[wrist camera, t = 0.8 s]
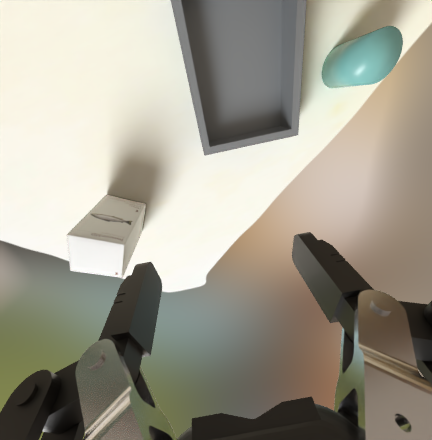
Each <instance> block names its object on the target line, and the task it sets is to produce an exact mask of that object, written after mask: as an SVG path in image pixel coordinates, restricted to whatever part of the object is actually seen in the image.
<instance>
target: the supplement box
mask: <svg viewBox="0 0 432 440" xmlns="http://www.w3.org/2000/svg"><path fill="white" fill-rule="evenodd" d="M145 209H146V204H145V203H140V202H135V201H131V200H126V199H122V198H118V197H114V196H111V195H106V196H105V197H104V198H103V199H102V200H101V201H100V202H99V203H98V204H97V205H96V206H95V207H94V208H93V209H92V210H91V211H90V212H89V213H88V214H87V215H86V216H85V217H84V218H83V219H82V220H81V221H80V222H79V223H78V224H77V225H76V226H75V227H74V228H73V229H72V230H71V231H70V232H69V233H68V234H67V243H68V251H69V262H70V270H71V271H75V272H84V273H91V274H97V275H98V274H99V275H106V276H113V277H120V278H122V277H123V275H124V273H125V271H126V268H127V266H128V264H129V261H130V259H131V256H132V254H133V252H134V249H135V247H136V245H137V242H138V240H139V238H140V235H141V233H142V228H143V222H144V215H145Z"/></svg>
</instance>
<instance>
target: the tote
mask: <svg viewBox="0 0 432 440" xmlns="http://www.w3.org/2000/svg"><path fill="white" fill-rule="evenodd" d="M306 1H307V0H171V3H172V8H173V12H174V17H175V22H176V26H177V31H178V36H179V40H180V45H181V49H182V54H183V59H184V63H185V68H186V73H187V77H188V82H189V86H190V91H191V96H192V100H193V105H194V110H195V114H196V119H197V123H198V128H199V133H200V137H201V142H202V147H203V151H204V155H209V154H214V153H218V152H223V151H227V150H232V149H237V148H241V147H246V146H250V145H255V144H259V143H264V142H269V141H273V140H278V139H282V138H287V137H292V136H296V135H298V128H299V112H300V97H301V81H302V65H303V49H304V33H305V17H306Z"/></svg>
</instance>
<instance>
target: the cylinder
mask: <svg viewBox="0 0 432 440" xmlns="http://www.w3.org/2000/svg"><path fill="white" fill-rule="evenodd" d="M402 45H403V40H402V35H401V32H400V31H399V29H397V28H396V27H393V26H387V27H383V28H381V29H378V30H376V31H373V32H371V33H368V34H366V35H363V36H361V37H358V38H356V39H353V40H351V41H348V42H346V43H343V44H341V45H338V46H337V47H335V48H334V49H333V50H332V51H331V52H330V53H329V54H328V56H327V57H326V59H325V61H324V64H323V68H322V79H323V82H324V84H325V85H326V86H327V87H329V88H339V87H349V86H359V85H368V84H374V83H377V82H379V81H381V80H382V79H384V78H385V77H386V76H387V75H388V74H389V73H390V72H391V70H392V69H393V68H394V66H395V65H396V63H397V61H398V59H399V57H400V54H401V50H402Z"/></svg>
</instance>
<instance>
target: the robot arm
mask: <svg viewBox="0 0 432 440" xmlns="http://www.w3.org/2000/svg"><path fill="white" fill-rule="evenodd" d="M292 258H293V262H294V264H295V265H296V267H297V269H298V271H299V273H300V274H301V276H302V277H303V279H304V281H305V282H306V284H307V286H308V287H309V289H310V291H311V292H312V294H313V296H314V297H315V299H316V301H317V302H318V304H319V305H320V307H321V309H322V310H323V312H324V314H325V315H326V317H327V319H328V320H329V322H330V323H333V322H338V321H339V322H340V324H341V325H342V327H343V328H342V338H341V353H340V370H339V378H338V382H337V386H336V392H335V403H334V411H333V410H331V409H329V408H327V407H324V406H321V405H318V404H314V401H313V398H312V397H308V398H301V399H296V400H291V401H286V402H281V403H280V404H279V405H277V406H275V407H274V408H272V409H270V410H269V411H267V412H266V413H264V414H262V415H261V416H259V417H258V418H256V419H247V418H242V417H238V416H233V415H228V414H223V413H220V414H214V415H209V416H203V417H198V418H192V427H190V428H189V429H187V430H186V431H185V432H184V433H183V434H181V435H180V437H179V438H178V439H177V438H176V435H175V433H174V431H173V429H172V427H171V425H170V423H169V421H168V419H167V418H166V416H165V415H164V414H163V412H162V411H161V409H160V407H159V405H158V403H157V401H156V399H155V397H154V395H153V392H152V390H151V388H150V386H149V384H148V382H147V379H146V377H145V375H144V373H143V371H142V369H141V367H140V365H141V360H142V357H145V356H150V355H151V350H152V344H153V338H154V332H155V326H156V320H157V315H158V308H159V303H160V297H161V291H162V283H161V279H160V277H159V275H158V273H157V271H156V269H155V268H154V266H153V264H152V263H151V262H147V263H142V264H137V265H136V266H135V268H134V270H133V273H132V275H131V276H127V278H126V279H125V280H124V282H123V283H122V284H121V286H120V288H119V290H118V293H117V297H116V298H115V301H114V305H113V306H112V308H111V311H110V313H109V316H108V318H107V321H106V323H105V326H104V328H103V331H102V333H101V336H100V338H99V340H98V341H97V342H95V343H94V344H92V345H91V346H90V347H89V348H88V349H87V350H86V351H85V352H84V353H83V355H82V356H81V358H80V360H78V361H77V362H75V363H73V364H71V365H69V366H67V367H65V368H63V369H62V370H60V371H58V372H56V373H52V372H50V371H48V370H40V371H37V372H35V373H34V374H32V375H30V376H29V377H28V378H26V379H25V380H24V381H23V382H22V383H21V384H20V385H19V386H18V387H17V388H16V389H15V390H14V392H13V393H12V394H11V396H10V397H9V399H8V401H7V402H6V404H5V406H4V407H3V409H2V411H1V412H0V440H39V438H40V435H41V433H42V431H43V432H44V433H43V436H42V438H41V440H432V301H431V302H430V303H429V304H428V305H427V304H419V303H410V302H402V301H397V300H396V299H395V298H393V297H392V296H390V295H388V294H386V293H384V292H381V291H378V290H374V289H373V288H372V287H371V286H370V285H369V284H368V283H367V282H366V281H365V280H364V279H363V278H362V277H361V276H360V275H359V274H358V272H357V271H356V270H354V268H353V267H352V266H351V265H350V264H349V263H348V262H347V261H345V259H344V258H343V257H342V256H341V255H340V254H339V252H338V251H337V250H336V249H335V248H334V247H333V246H332V245H330V244H329V243H327V242H325V241H323V240H317V239H316V238H315V237H314V235H313V234H311V233H310V232H307V233H302V234H297V235H295V236H294V242H293V251H292ZM418 369H419V370H420V372H421V373H422V375H423V376H424V377H425V378H424V377H422V376H421V375H420V373H419V371H418ZM84 433H85V437H84ZM83 437H84V439H83Z"/></svg>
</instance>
